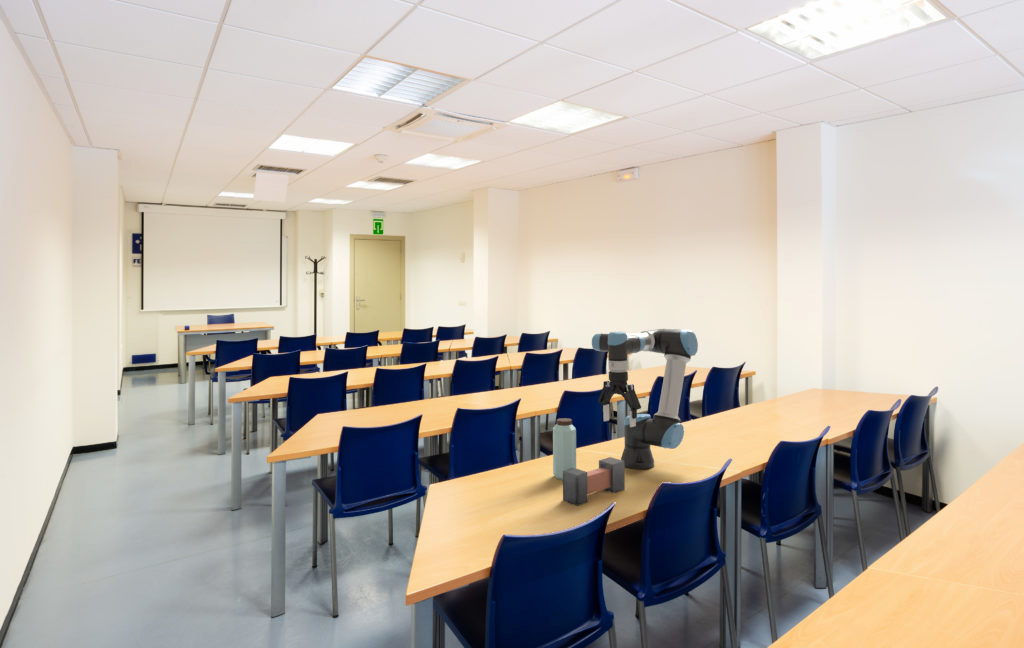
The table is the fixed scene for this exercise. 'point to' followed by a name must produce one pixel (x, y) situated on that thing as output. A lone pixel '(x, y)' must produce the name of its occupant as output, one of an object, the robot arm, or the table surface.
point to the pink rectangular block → (598, 480)
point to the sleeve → (614, 473)
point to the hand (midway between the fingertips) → (619, 423)
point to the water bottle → (563, 447)
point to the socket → (575, 486)
